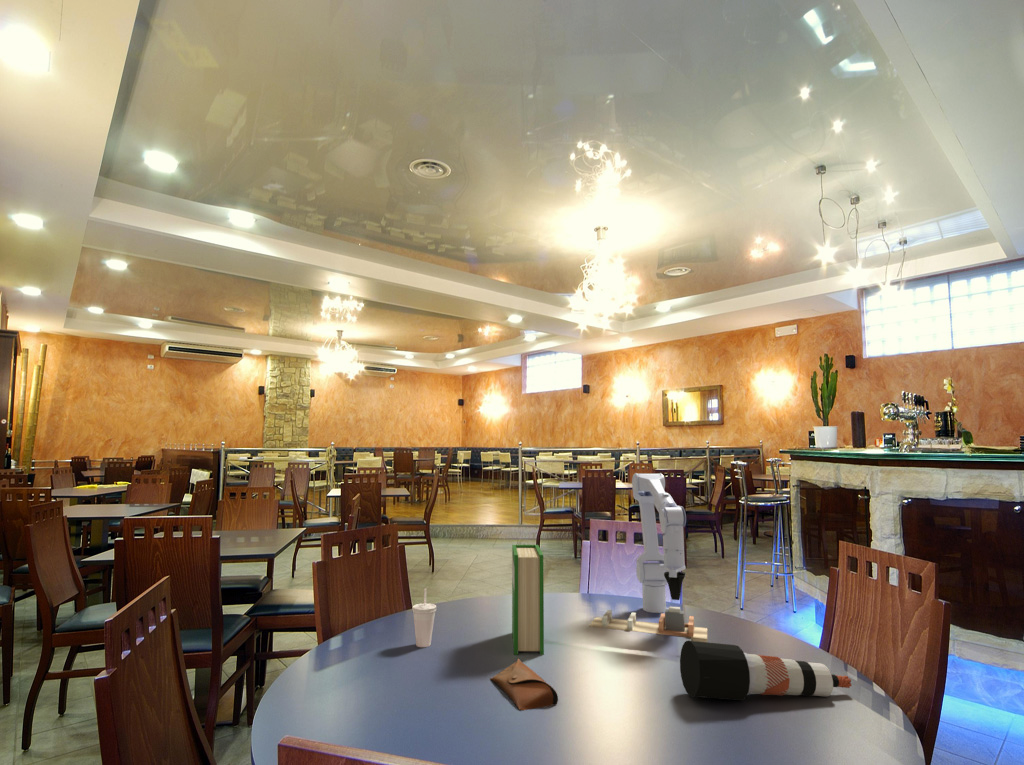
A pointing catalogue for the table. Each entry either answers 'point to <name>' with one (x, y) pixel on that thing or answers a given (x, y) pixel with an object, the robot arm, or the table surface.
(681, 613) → the plug
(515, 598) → the hardback book
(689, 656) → the striped tapered cone
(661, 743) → the table surface
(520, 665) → the sunglasses case
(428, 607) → the smoothie
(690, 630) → the wooden board with blocks
